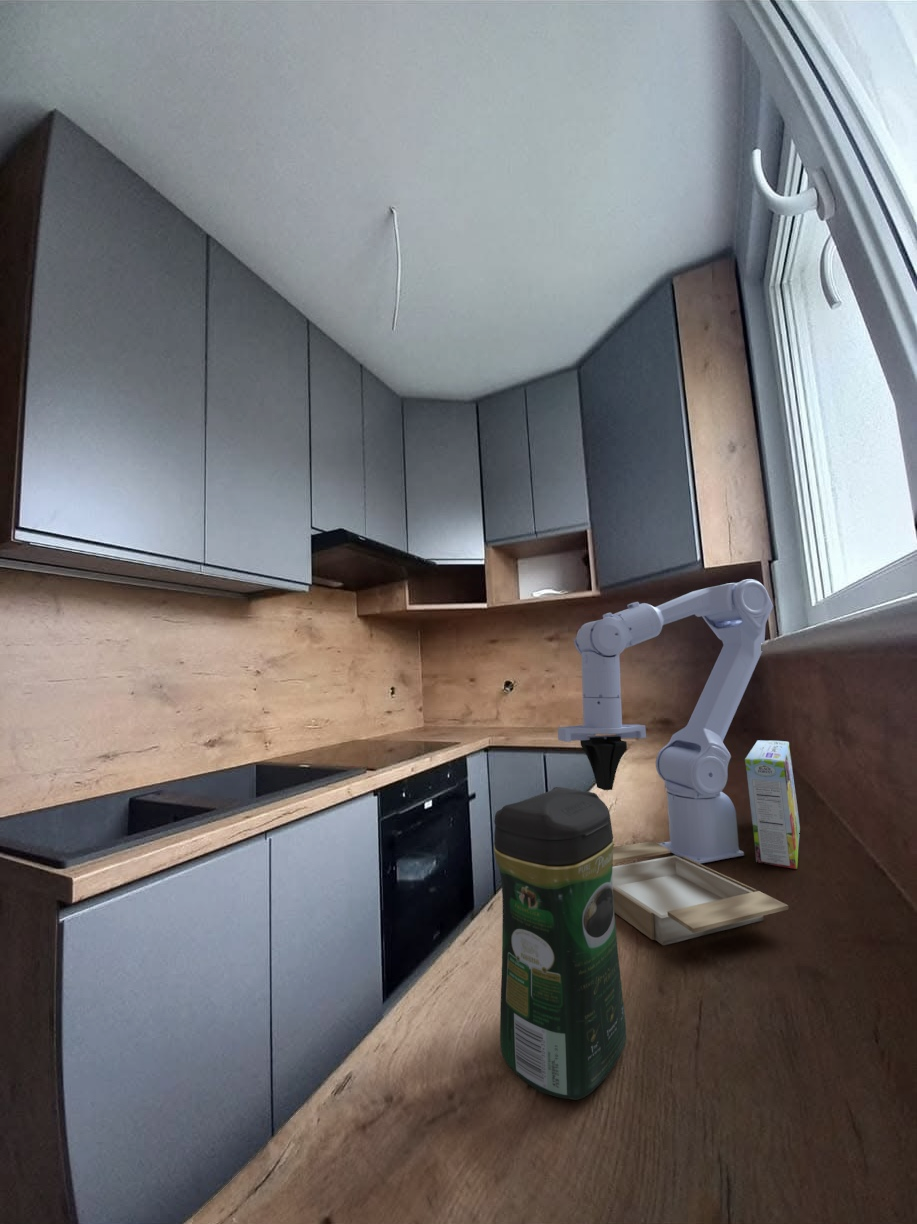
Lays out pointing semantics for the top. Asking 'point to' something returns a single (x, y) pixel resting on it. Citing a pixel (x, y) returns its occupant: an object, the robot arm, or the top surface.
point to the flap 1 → (638, 851)
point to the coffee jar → (559, 942)
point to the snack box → (773, 803)
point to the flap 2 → (726, 911)
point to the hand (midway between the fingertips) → (604, 788)
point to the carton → (670, 895)
